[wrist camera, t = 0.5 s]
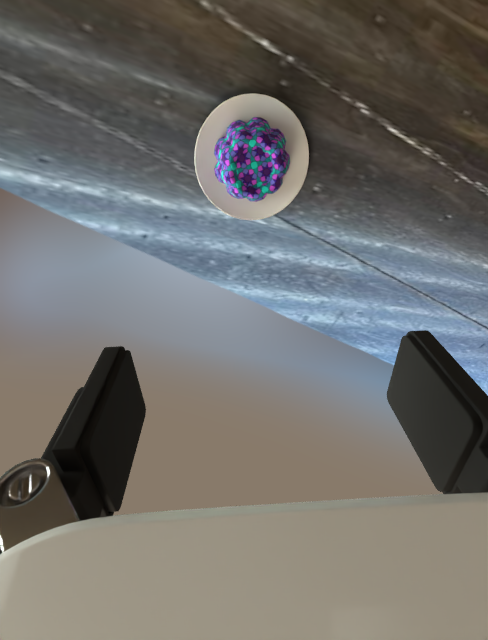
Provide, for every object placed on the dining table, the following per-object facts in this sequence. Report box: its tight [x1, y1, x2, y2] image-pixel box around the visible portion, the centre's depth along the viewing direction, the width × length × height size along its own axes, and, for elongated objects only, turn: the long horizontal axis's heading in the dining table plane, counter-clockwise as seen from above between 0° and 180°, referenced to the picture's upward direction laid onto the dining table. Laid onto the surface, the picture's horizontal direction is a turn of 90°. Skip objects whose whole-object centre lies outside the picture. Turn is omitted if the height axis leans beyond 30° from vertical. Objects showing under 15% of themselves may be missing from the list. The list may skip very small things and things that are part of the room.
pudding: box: [194, 93, 309, 220], centre depth 33 cm, size 12×12×5 cm
